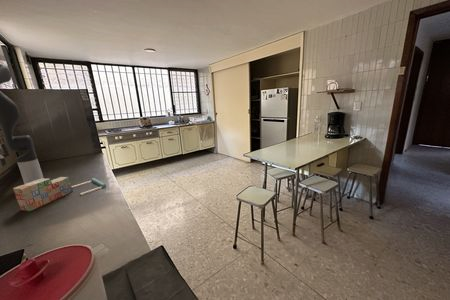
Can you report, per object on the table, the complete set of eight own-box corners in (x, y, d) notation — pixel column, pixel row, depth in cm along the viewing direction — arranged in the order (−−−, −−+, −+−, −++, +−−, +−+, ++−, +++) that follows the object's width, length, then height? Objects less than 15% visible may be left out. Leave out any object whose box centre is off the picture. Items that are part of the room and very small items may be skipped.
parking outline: (70, 187, 116) (70, 184, 115) (94, 180, 126) (93, 177, 125) (81, 195, 105) (80, 192, 104) (106, 186, 115) (105, 183, 114)
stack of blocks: (65, 190, 112) (59, 172, 109) (73, 191, 111) (68, 172, 108) (20, 210, 92) (12, 187, 89) (29, 211, 90) (21, 188, 87)
